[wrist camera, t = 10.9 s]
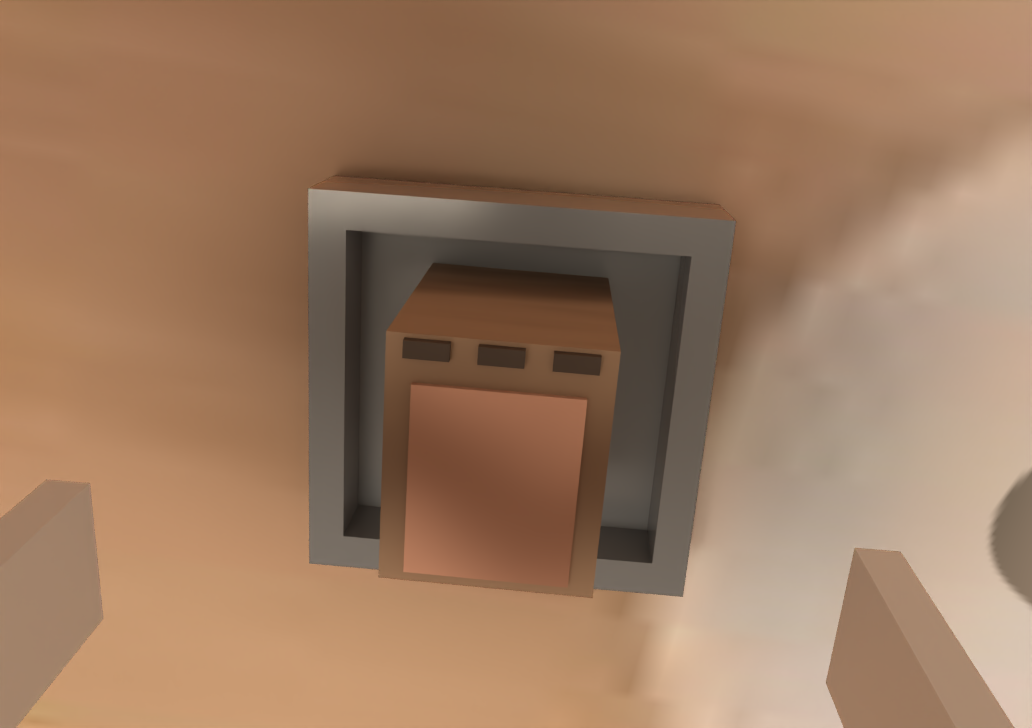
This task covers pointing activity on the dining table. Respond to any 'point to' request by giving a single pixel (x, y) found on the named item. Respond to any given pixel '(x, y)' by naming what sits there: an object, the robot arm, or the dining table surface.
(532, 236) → the slate tray
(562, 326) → the brown block
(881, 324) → the dining table surface
